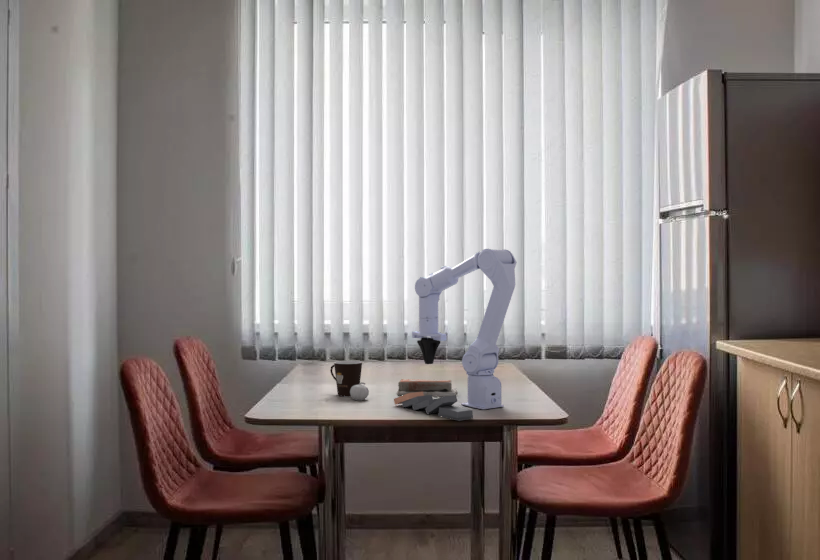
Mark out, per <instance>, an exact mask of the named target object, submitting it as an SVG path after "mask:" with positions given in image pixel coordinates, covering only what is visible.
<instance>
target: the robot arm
mask: <svg viewBox="0 0 820 560" xmlns="http://www.w3.org/2000/svg"><path fill="white" fill-rule="evenodd" d="M516 266H517V260H516V258H515V256H514V254H513V253H512V252H511V250H509V249H491V248H484V249H482V250H480V251H477V252H475V253H474V254H473V255H472V256H470V257H468V258H467V259H465V260H464V261H463V260H462V262H460V263H459V264H457V265H455V266H454V267H453V266H450V265H449V266H448V265H443V266H440V270H438V271H436V272H431V273H429V275H428V276H427V277H425V276H420V277H418V279H417V280H416V281H415V284H414V290H415V291H414V292H415V294H416V295H417V296H418V317H419V318H418V331H416V330H415V331H411V338H412V339H418V340H417V342H416V343H417V345H418V346H419V348H420V351H421V354H422V357H423V361H424V364H425V365H433V364H434V362H435V361H434V360H435V357H436V353H437V350H438V348H439V347H440V344H441V342H446V341H447V340H448V339H447V334H446V333H442V332H440V331H439V301H440V297H441V294H442V293H443V291H445V290H447V289H449V288H451V287H453V286H454V285H457V284H458V282H459V279H460V278H461V277H464V276H467V275H468V274H471V273H472V272H473V273H474V272H475V271H477V270H480V271H481V272H483V274H484V275H485V276H486V277H487V278H488V280H490V281H491V283H492V286H493V288H492V292H491V294H490V297H489V299H488V302H487V303H488V304H487V306H486V309H485V313H484V316H483V319H482V322H481V324H480V328H479V331H478V334H477V337H476V339H475V340H474V341H473V342H472V343H471V344H469V347H468V350H466V352H465V353H464V354H463V356H462V358H461V364H462V367H463V369H464V371H465V373H466V375H467V402H461V403H460V405H461V406H465V407H470V408H475V409H478V410H489V409H494V408H502V407H505V406H504V404H502V402H503V401H502V382H501V380H500V379H499V378H498V377H497V376H495V375H494V374H495V370H496V368H497V367H498V365H499V353H500V348H499V346H498V345H497V343H498V342H497V341H498V339H499V336H500V333H501V329H502V328H503V323H504V321H505V318H506V315H507V312H508V309H509V306H510V304H511V303H510V302H511V300H512V297H513V293H514V291H515V287H516V272H515V271H516Z"/></svg>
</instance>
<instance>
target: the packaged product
mask: <svg viewBox="0 0 820 560" xmlns="http://www.w3.org/2000/svg"><path fill="white" fill-rule="evenodd" d="M397 387H398V388H397V392H396V396H397V395H405V394H408V393H415V392H423V394H424V396H425V395H432V397H446V396H454V395H456V396H457V393H458V389H457V388H453V387H452V380H451V379H446V380H443V379H415V378H412V379H411V378H410V379H409V378H408V379H407V378H401V379H400V380H399V382H398V384H397ZM452 388H453V389H452Z"/></svg>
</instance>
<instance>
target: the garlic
mask: <svg viewBox="0 0 820 560" xmlns="http://www.w3.org/2000/svg"><path fill="white" fill-rule="evenodd" d="M369 392H370V391H369V388H368V387H367V386H366V382H361V381H360V383H359V385H354V386H352V388H351V389H350V395H351V396H350V397H351V398H352V400H354V399H355V401H364V400H366V399H367V398H368V396H369Z"/></svg>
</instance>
